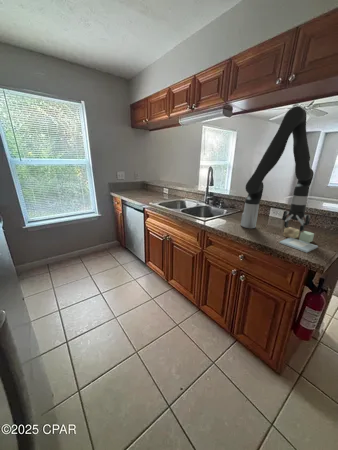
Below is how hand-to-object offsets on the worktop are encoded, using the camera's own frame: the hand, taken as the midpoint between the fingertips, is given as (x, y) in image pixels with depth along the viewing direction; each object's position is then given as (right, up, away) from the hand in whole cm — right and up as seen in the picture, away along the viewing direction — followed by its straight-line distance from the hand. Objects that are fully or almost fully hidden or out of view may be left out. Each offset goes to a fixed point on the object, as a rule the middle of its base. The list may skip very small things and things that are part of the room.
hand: (293, 229), depth 114 cm
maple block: (0, -5, +2) cm, 5 cm away
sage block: (+5, -7, -4) cm, 9 cm away
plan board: (-4, -9, -10) cm, 14 cm away
